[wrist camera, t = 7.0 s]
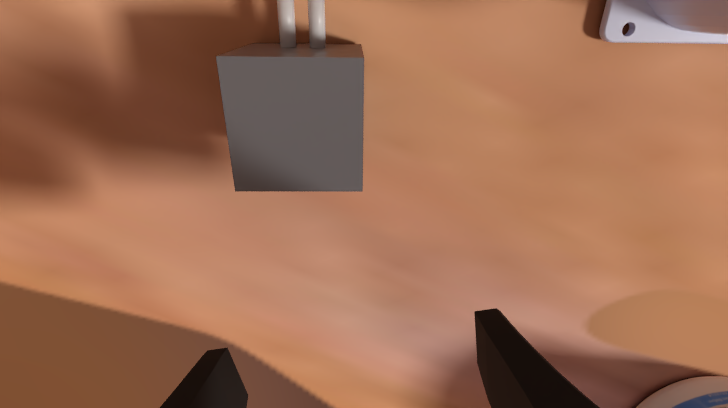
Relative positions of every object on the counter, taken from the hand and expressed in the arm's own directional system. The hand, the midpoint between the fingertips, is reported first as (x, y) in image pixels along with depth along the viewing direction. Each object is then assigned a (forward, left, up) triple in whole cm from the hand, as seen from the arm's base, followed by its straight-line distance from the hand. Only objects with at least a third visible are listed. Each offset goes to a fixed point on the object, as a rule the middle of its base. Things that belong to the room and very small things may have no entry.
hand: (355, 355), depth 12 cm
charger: (+2, -7, -9) cm, 11 cm away
